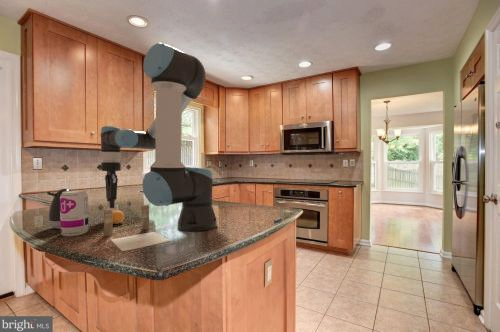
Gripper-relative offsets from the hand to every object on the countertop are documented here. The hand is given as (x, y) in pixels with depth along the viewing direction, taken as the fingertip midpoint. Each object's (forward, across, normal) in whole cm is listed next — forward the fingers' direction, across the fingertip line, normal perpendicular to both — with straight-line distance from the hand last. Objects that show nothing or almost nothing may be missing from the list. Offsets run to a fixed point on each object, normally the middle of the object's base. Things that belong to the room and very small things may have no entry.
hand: (111, 215), depth 112 cm
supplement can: (+2, +16, -15) cm, 22 cm away
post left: (+2, +26, -6) cm, 26 cm away
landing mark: (+2, +40, 0) cm, 40 cm away
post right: (+2, +26, +6) cm, 26 cm away
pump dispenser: (+2, +2, -17) cm, 17 cm away
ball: (-1, +10, 0) cm, 10 cm away
